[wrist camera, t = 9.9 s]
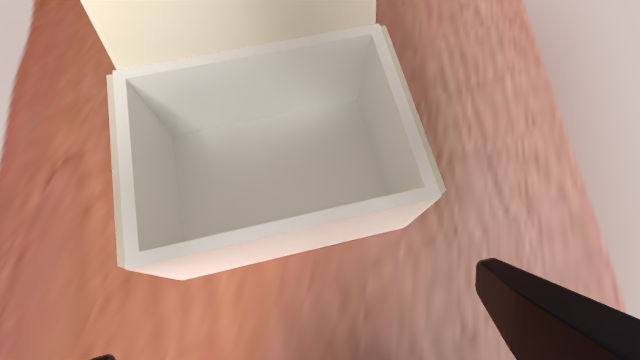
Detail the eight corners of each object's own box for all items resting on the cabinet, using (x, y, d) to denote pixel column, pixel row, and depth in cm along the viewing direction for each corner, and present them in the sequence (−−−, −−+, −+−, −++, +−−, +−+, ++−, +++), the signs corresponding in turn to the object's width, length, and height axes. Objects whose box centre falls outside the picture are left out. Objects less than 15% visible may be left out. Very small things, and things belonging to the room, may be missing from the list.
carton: (408, 226, 23) (447, 194, 16) (177, 281, 22) (117, 271, 15) (365, 93, 26) (384, 22, 20) (160, 134, 25) (106, 71, 18)
